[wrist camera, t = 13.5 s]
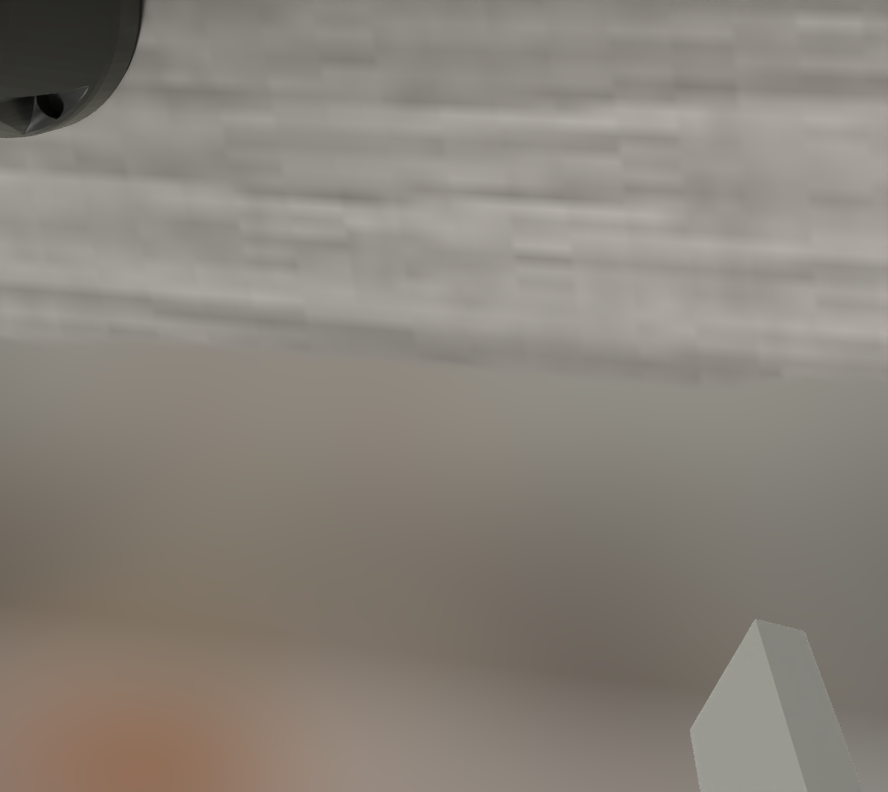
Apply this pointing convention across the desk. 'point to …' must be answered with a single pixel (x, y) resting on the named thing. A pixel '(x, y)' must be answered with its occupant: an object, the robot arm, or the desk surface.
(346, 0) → the desk surface
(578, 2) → the desk surface
